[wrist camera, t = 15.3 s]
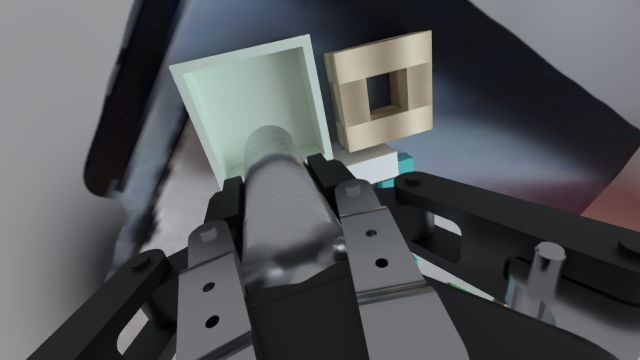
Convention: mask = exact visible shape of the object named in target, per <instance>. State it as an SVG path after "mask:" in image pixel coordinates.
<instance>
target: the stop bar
mask: <svg viewBox="0 0 640 360" xmlns="http://www.w3.org/2000/svg"><path fill="white" fill-rule="evenodd" d="M332 153H333V158H334V159H336V160H339V161H341V162H342V163H343V164H344V165H345V167H347V168H348V170H349V171H350V172H351V173H352V174H353V175H354V176H355V177H356V178H357V179H364V180H367V181H368V182H370V184H373V183H376V182H379V181H383V180H386V179H389V178H392V177H396V176H398V175H399V171H398V158H397V151H395V150H394V149H392V148H391V147H389V146H388V145H386V144H385V143H382V144H378V145H375V146H371V147H368V148H364V149H361V150H357V151H354V152H351V153H350V152H349V151H348V150H347V149H346V148H345V149H341V150H338V151H334V152H332Z"/></svg>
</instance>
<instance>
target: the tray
mask: <svg viewBox="0 0 640 360" xmlns="http://www.w3.org/2000/svg"><path fill="white" fill-rule="evenodd" d="M168 67H169V69H170V71H171V74H172V76H173V78H174V81H175V83H176V85H177V88H178V90H179V92H180V95H181V97H182V99H183V102H184V104H185V106H186V109H187V111H188V113H189V116H190V118H191V121H192V123H193V125H194V128H195V130H196V132H197V135H198V137H199V139H200V142H201V144H202V146H203V149H204V151H205V153H206V156H207V158H208V160H209V163H210V165H211V167H212V170H213V172H214V174H215V177H216V179H217V181H218V184H219V186H220V188H221V191H222V189H223V183H224V180H225V179H229V178H232V177H236V176H239V175H240V176H241V177H242V179H243V182H244V168H245V145H246V141H247V139H248V137H249V136H250V134H251V133H252V132H253V131H254V130H256V129H257V128H259V127H262V126H266V125H275V126H279V127H281V128H283V129H285V130H286V131H287V132H288V133H290V135H291V136H292V138H293V139H294V141H295V143H296V145H297V147H298V148H299V150H300V152H301V154H302V156H303V157H304V159H305V161H306V163H307V159H306V157H307V156H310V155H314V154H317V153H322V155H323V156H324V157H325V159H326V160H327V161H328V160H332V159H334V158H333V153H332V148H331V143H330V138H329V133H328V127H327V122H326V117H325V112H324V107H323V102H322V97H321V91H320V86H319V81H318V76H317V71H316V66H315V61H314V55H313V50H312V45H311V40H310V35H309V34H307V35H303V36H298V37H294V38H289V39H285V40H281V41H276V42H272V43H267V44H263V45H259V46H254V47H250V48H245V49H241V50H236V51H232V52H228V53H223V54H219V55H214V56H210V57H205V58H201V59H197V60H192V61H188V62H183V63H179V64H174V65H170V66H168ZM307 165H308V164H307Z"/></svg>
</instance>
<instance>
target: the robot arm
mask: <svg viewBox="0 0 640 360" xmlns="http://www.w3.org/2000/svg"><path fill="white" fill-rule="evenodd" d="M306 159H307V164H308V167H309V168H310V170H311V172H312V174H313V176H314V177H315V179H316V181H317V183H318V185H319V186H320V188H321V190H322V192H323V194H324V195H325V197H326V199H327V201H328V202H329V204H330V206H331V208H332V210H333V211H334V213H335V215H336V217H337V219H338V220H339V222H340V224H341V226H342V230H343V235H344V239H345V244H346V249H347V254H348V260H345V261H342V262H339V263H336V264H334V265H331V266H329V267H328V268H326V269H324V270H322V271H321V272H319V273H317V274H315V275H314V276H312V277H310V278H309V279H307V280H305V281H303V282H301V283H296V284H289V285H281V286H273V287H266V288H263V289H260V290H257V291H254V292H252V290H251V288H250V286H249V284H248V281H247V279H246V277H245V275H244V272H243V269H242V245H243V206H244V182H243V179H242V177H241V176H240V175H239V176H236V177H232V178H229V179H225V180H224V183H223V189H222V191H220V192H217V193H215V194H214V195H213V196H212V197H211V199H210V200H209V204H208V208H207V212H206V216H205V220H204V224H202V225H200V226H199V227H197V228H196V229H195V230H194V231H193V232H192V233H191V234H190V235H189V237H188V247H186V248H184V249H182V250H181V251H178V252H176V253H174V254H172V255H170V256H168V257H166V255H165V253H164V252H163V251H162V250H161V249H152V250H148V251H145V252H142V253H140V254H138V255H136V256H135V257H133V258H131V259H130V260H129V261H127V262H126V263H125V264H124V265H123V266H122V267H121V268H120V269H119V270H118V271H117V272H116V273H115V274H114V275H113V276H112V277H111V278H110V279H108V280H107V281H106V282H105V283H104V284H103V285H102V286H101V287H100V288H99V289H98V290H97V291H96V292H95V293H94V294H93V295H92V296H91V297H90V298H89V299H88V300H87V301H86V302H85V303H84V304H83V305H82V306H81V307H80V308H79V309H78V310H77V311H76V312H75V313H74V314H73V315H72V316H70V317H69V318H68V319H67V320H66V321H65V323H63V324H62V325H61V326H60V327H59V328H58V329H57V330H56V331H55V332H54V333H53V334H52V335H51V336H50V337H49V338H48V339H47V340H46V341H45V342H44V343H43V344H42V345H41V346H40V347H39V348H38V349H37V350H36V351H35V352H34V353H32V354H31V355H30V357H28V358H27V359H26V360H172V358H173V356H174V355H175V353H176V360H637V359H638V357H639V356H640V232H637V231H634V230H630V229H627V228H623V227H619V226H616V225H612V224H608V223H605V222H601V221H597V220H594V219H590V218H587V217H583V216H580V215H576V214H572V213H569V212H565V211H561V210H558V209H554V208H551V207H547V206H543V205H540V204H536V203H533V202H529V201H525V200H522V199H518V198H514V197H511V196H507V195H504V194H500V193H496V192H493V191H489V190H486V189H482V188H478V187H475V186H471V185H467V184H464V183H460V182H457V181H453V180H449V179H446V178H442V177H439V176H435V175H431V174H428V173H424V172H416V171H414V172H406V173H402V174H400V175H398V176H397V177H395V178H394V181H393V183H394V187H387V188H372V186H371V184H370V182H368V181H367V180H364V179H357V178H356V177H355V176H354V175H353V174H352V173H351V172H350V171H349V170H348V168H347V167H345V165H344V164H343V163H342V162H341V161H339V160H336V159H332V160H328V161H327V160H326V159H325V157H324V156H323V155H322V153H317V154H314V155H310V156H307V157H306ZM434 214H436V215H438V216H441V217H443V218H446V219H448V220H451V221H453V222H454V223H455V224H457V225H458V227H459V228H460V230H461V234H462V235H461V236H460V235H458V234H455V233H453V232H451V231H448V230H446V229H444V228H441V227H439V226H437V225H434ZM410 251H411V252H412V253H414V254H416V255H418V256H420V257H421V258H423V259H425V260H427V261H429V262H431V263H432V264H434V265H436V266H438V267H440V268H441V269H443V270H445V271H447V272H449V273H450V274H452V275H454V276H456V277H458V278H460V279H461V280H463V281H465V282H467V283H469V284H470V285H472V286H474V287H476V288H478V289H479V290H481V291H483V292H485V293H487V294H489V295H490V296H492V297H494V298H496V299H498V300H499V301H501V302H503V303H505V304H507V306H508V307H509V308H508V307H505V306H503V305H500V304H497V303H495V302H492V301H490V300H487V299H484V298H482V297H479V296H477V295H474V294H472V293H469V292H466V291H464V290H461V289H459V288H456V287H454V286H451V285H448V284H446V283H443V282H441V281H438V280H436V279H433V278H430V277H428V276H425V275H423V274H421V272H420V270H419V268H418V266H417V264H416V262H415V260H414V258H413V256H412V254H411V252H410ZM140 308H141V309H142V311H143V312H144V313H145V315H146V316H147V317H148V319H149V320H148V322H147V323H146V324H145V326H144V327H143V328H142V330H141V331H140V332H139V334H138V335H137V336H136V338H135V339H134V340H133V342H132V343H131V344H130V346H129V347H128V348H127V350H126V351H125V352H124V354H123V355H121V354H120V352H119V351H118V349H117V340H118V337H119V334H120V333H121V331H122V330H123V329H124V327H125V326H126V325H127V324H128V322H129V321H130V320H131V319H132V317H133V316H134V315H135V314H136V313H137V311H138V310H139V309H140Z"/></svg>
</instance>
